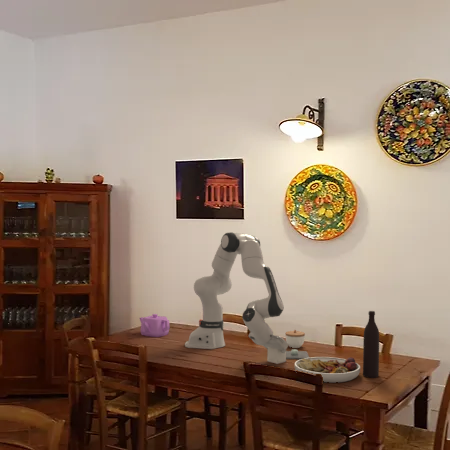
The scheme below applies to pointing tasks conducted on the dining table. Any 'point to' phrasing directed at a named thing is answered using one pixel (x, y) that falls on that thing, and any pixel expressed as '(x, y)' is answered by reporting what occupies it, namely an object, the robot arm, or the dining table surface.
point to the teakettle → (154, 326)
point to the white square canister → (275, 356)
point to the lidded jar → (295, 338)
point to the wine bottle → (371, 348)
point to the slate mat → (301, 356)
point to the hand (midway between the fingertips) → (276, 350)
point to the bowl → (330, 368)
